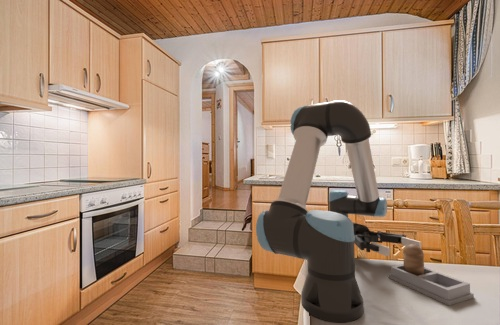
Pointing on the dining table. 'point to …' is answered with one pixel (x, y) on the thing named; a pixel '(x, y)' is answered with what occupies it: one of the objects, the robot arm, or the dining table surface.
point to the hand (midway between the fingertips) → (405, 249)
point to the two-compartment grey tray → (433, 285)
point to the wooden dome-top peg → (413, 259)
